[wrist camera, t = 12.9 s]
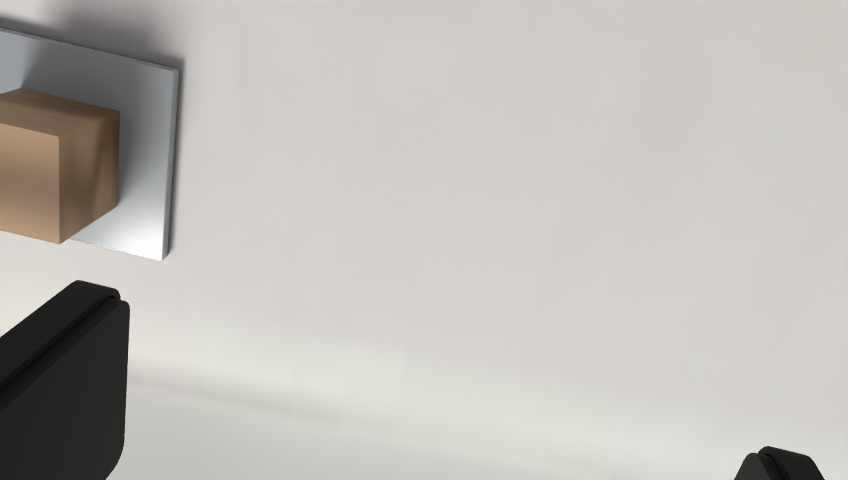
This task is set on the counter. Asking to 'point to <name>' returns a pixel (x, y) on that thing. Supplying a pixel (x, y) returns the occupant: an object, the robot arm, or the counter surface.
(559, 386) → the counter surface
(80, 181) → the walnut cube
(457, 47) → the counter surface
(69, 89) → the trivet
